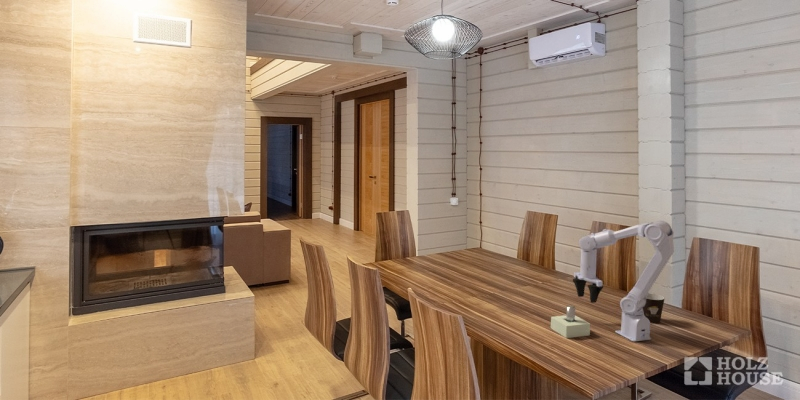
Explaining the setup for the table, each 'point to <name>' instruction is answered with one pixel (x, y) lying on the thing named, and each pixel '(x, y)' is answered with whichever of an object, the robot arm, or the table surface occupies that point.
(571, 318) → the pin
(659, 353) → the table surface
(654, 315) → the coffee mug
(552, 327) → the bore block
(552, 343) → the table surface
